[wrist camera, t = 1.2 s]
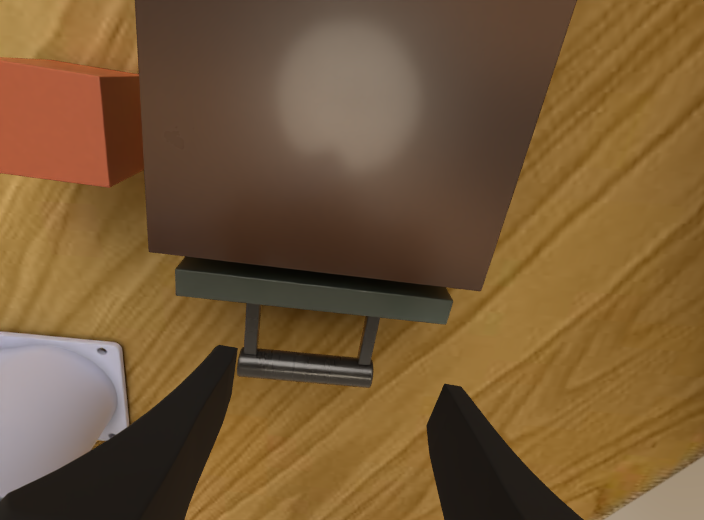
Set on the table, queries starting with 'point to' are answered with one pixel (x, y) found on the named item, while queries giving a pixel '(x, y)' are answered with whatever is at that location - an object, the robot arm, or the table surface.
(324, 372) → the drawer
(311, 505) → the table surface
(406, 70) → the cabinet
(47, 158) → the block
